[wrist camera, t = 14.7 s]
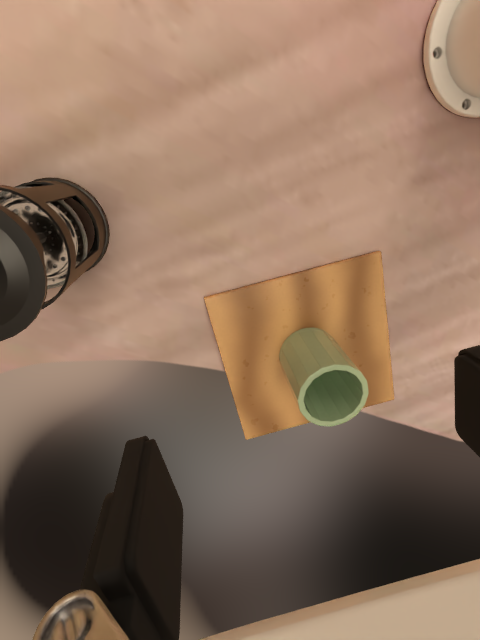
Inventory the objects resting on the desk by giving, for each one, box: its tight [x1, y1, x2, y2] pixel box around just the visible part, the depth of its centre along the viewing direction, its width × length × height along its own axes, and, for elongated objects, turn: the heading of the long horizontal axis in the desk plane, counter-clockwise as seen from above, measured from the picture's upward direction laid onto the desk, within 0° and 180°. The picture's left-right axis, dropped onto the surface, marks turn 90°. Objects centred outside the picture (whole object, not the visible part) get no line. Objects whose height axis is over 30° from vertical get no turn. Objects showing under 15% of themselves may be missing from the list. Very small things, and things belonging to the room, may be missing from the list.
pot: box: [279, 328, 369, 426], centre depth 40 cm, size 7×7×9 cm
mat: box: [204, 251, 394, 440], centre depth 45 cm, size 20×20×1 cm
